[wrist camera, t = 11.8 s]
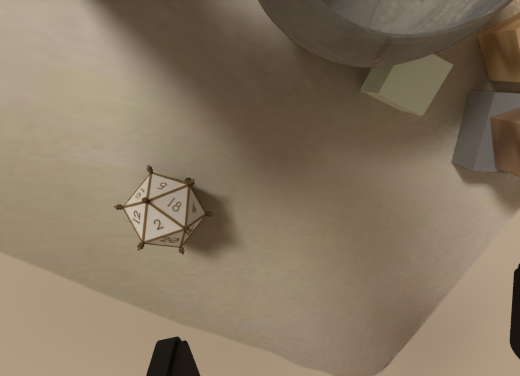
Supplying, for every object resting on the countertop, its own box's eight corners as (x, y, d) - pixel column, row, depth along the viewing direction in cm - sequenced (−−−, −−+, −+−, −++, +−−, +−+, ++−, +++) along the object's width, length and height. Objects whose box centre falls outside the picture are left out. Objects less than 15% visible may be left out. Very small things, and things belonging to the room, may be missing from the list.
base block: (467, 90, 36) (494, 92, 32) (537, 93, 36) (571, 96, 33) (449, 161, 38) (472, 171, 35) (514, 163, 39) (543, 173, 35)
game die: (194, 182, 41) (243, 216, 34) (150, 237, 40) (192, 284, 33) (140, 139, 34) (187, 171, 28) (86, 204, 33) (121, 254, 27)
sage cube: (384, 43, 33) (407, 39, 29) (424, 65, 34) (453, 65, 30) (359, 90, 35) (378, 93, 30) (398, 110, 36) (422, 116, 31)
